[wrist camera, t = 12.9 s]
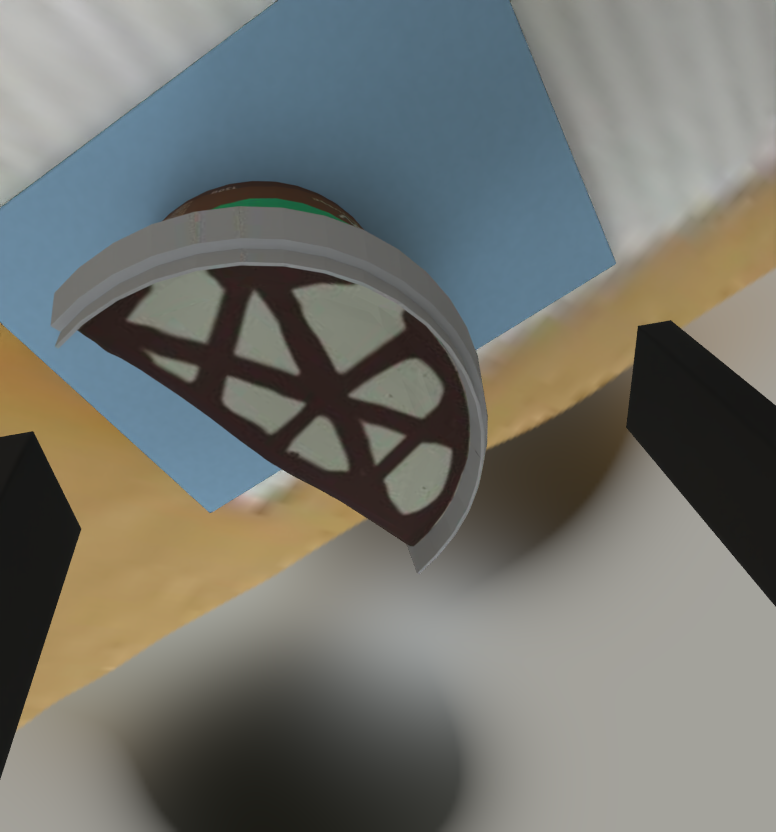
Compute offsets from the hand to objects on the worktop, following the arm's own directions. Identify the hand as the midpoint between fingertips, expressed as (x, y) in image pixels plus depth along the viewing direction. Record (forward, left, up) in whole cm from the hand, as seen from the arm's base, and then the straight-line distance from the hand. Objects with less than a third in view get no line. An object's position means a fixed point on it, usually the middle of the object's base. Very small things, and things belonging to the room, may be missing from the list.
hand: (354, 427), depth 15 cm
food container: (0, 0, -11) cm, 11 cm away
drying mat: (0, 0, -12) cm, 12 cm away
